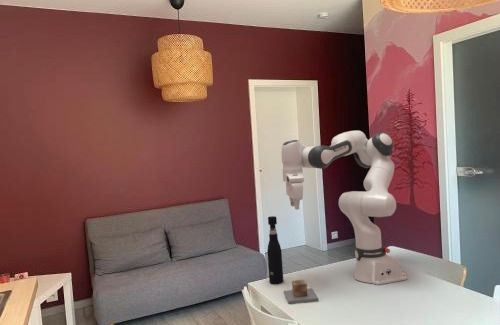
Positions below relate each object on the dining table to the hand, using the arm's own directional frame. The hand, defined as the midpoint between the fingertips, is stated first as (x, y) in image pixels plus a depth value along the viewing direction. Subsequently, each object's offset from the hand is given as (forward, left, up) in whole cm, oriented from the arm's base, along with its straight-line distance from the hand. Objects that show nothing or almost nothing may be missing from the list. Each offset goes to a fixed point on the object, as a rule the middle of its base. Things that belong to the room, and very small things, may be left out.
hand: (294, 207), depth 169 cm
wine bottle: (+10, -4, -34) cm, 36 cm away
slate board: (+3, +16, -34) cm, 38 cm away
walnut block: (+3, +16, -33) cm, 37 cm away
